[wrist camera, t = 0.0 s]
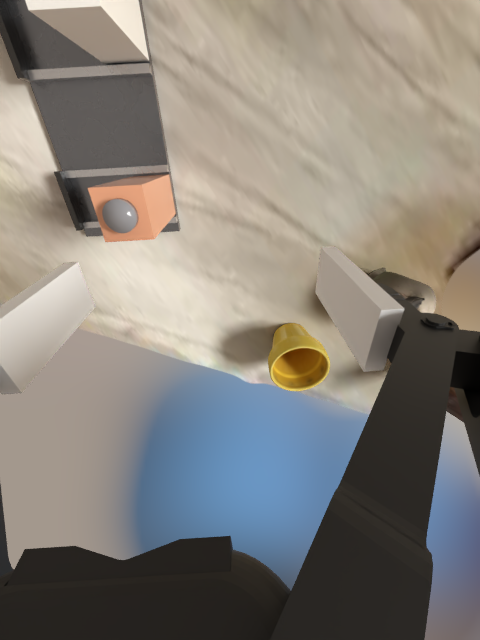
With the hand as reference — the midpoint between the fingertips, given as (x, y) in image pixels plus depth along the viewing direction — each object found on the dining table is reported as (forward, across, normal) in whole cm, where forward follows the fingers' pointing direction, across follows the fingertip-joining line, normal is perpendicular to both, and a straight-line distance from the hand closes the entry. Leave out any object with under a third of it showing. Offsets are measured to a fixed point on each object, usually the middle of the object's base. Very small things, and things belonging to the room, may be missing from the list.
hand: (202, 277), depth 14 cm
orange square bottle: (+27, -9, +1) cm, 28 cm away
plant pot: (+28, +12, -26) cm, 40 cm away
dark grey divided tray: (+28, -13, +9) cm, 32 cm away
